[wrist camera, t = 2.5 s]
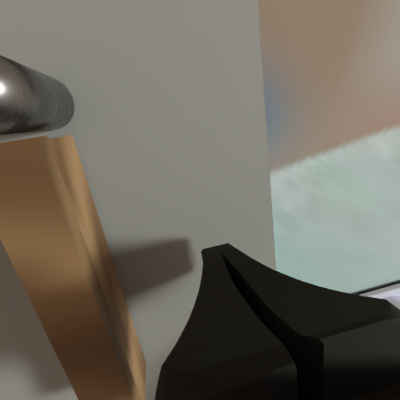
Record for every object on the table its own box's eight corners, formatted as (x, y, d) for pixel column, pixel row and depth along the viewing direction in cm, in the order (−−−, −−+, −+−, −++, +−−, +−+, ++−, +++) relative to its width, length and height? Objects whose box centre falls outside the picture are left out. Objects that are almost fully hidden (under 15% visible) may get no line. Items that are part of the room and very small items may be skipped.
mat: (252, -41, 10) (255, -46, 9) (280, 359, 17) (282, 363, 17) (-566, 38, 7) (-596, 34, 7) (-111, 478, 14) (-116, 485, 14)
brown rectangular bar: (32, 139, 10) (-43, 150, 6) (78, 130, 10) (34, 137, 6) (120, 371, 14) (108, 462, 10) (151, 362, 14) (151, 448, 11)
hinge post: (67, 72, 10) (-13, 29, 5) (83, 125, 10) (26, 129, 6) (13, 80, 9) (-122, 41, 5) (33, 133, 10) (-69, 144, 5)
